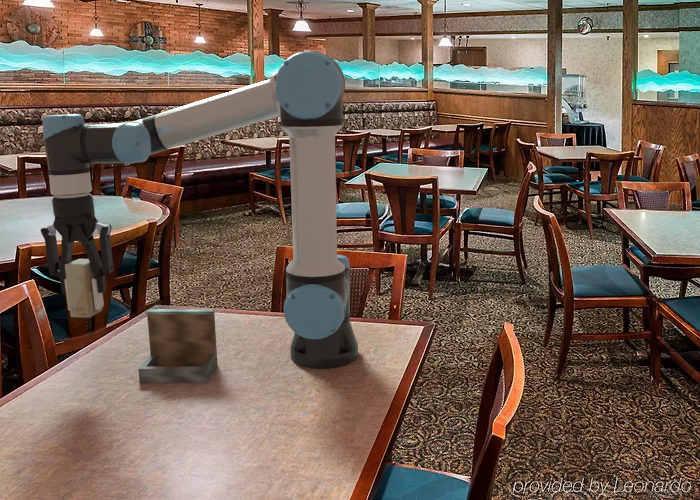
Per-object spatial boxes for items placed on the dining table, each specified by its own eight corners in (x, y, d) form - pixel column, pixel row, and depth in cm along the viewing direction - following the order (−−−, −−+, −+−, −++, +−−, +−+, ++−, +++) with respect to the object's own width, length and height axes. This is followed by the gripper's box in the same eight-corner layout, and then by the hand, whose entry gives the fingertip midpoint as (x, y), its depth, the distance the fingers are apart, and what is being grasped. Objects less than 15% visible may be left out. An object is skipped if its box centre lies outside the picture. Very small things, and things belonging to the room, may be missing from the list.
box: (89, 318, 136) (82, 264, 134) (69, 317, 137) (63, 264, 134) (103, 310, 141) (97, 258, 139) (84, 309, 142) (78, 258, 139)
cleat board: (217, 364, 148) (214, 309, 145) (207, 382, 139) (203, 324, 136) (153, 364, 148) (149, 309, 146) (139, 382, 139) (134, 324, 136)
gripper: (123, 190, 137) (135, 301, 142) (36, 193, 137) (51, 303, 143) (109, 196, 129) (123, 313, 135) (17, 198, 130) (34, 314, 135)
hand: (86, 307), depth 139 cm, fingers closed on box, 5 cm apart
